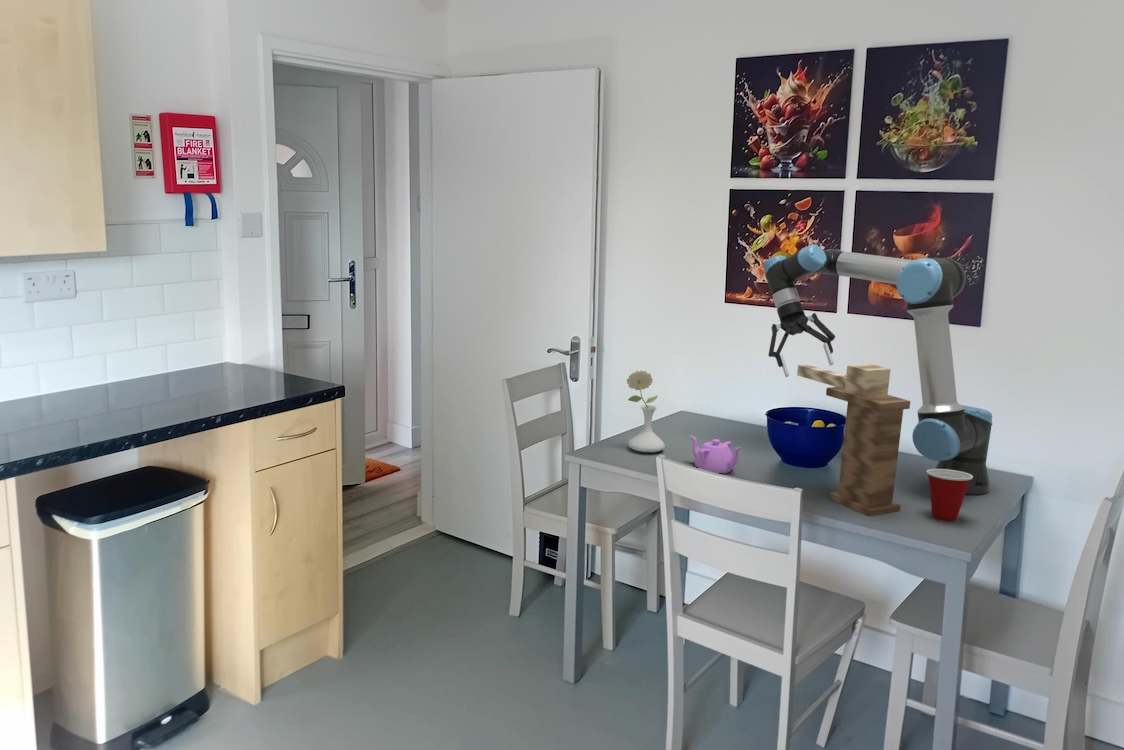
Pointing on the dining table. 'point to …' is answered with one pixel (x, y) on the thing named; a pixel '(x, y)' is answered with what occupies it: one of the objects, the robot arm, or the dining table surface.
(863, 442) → the walnut stand
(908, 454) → the dining table surface
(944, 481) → the plastic cup
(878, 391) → the meat mallet
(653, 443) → the flower in vase
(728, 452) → the teapot
